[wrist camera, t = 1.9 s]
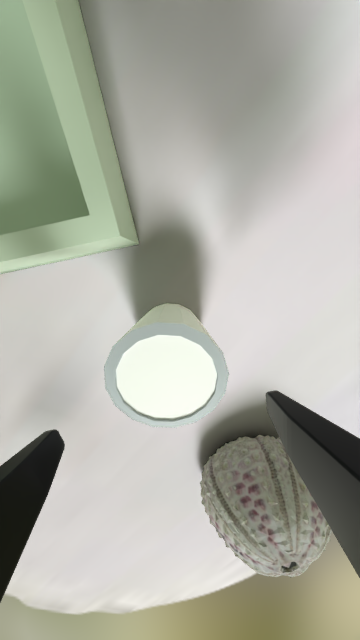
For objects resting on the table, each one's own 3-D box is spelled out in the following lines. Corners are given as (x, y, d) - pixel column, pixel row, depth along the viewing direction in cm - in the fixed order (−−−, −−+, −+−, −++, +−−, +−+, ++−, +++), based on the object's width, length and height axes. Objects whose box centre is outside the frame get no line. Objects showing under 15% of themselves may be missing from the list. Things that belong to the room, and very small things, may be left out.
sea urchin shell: (269, 507, 25) (311, 615, 17) (179, 485, 23) (181, 595, 16) (328, 440, 21) (413, 540, 14) (226, 407, 19) (258, 502, 12)
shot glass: (195, 372, 18) (206, 439, 11) (126, 356, 17) (94, 417, 10) (218, 307, 16) (248, 341, 9) (141, 286, 15) (113, 306, 8)
